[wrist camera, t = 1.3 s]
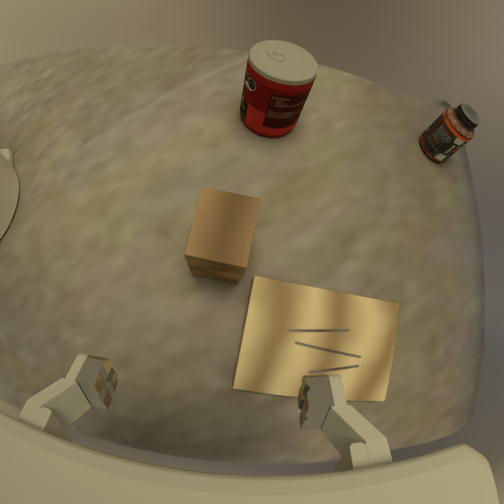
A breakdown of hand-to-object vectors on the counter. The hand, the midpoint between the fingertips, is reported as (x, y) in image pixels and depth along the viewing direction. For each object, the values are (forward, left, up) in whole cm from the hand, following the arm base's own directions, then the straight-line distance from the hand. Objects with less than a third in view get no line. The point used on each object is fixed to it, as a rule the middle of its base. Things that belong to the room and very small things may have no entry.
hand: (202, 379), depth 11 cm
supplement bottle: (+29, +35, -20) cm, 50 cm away
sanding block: (-1, +10, -20) cm, 22 cm away
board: (+12, +2, -20) cm, 23 cm away
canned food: (+1, +30, -20) cm, 36 cm away
